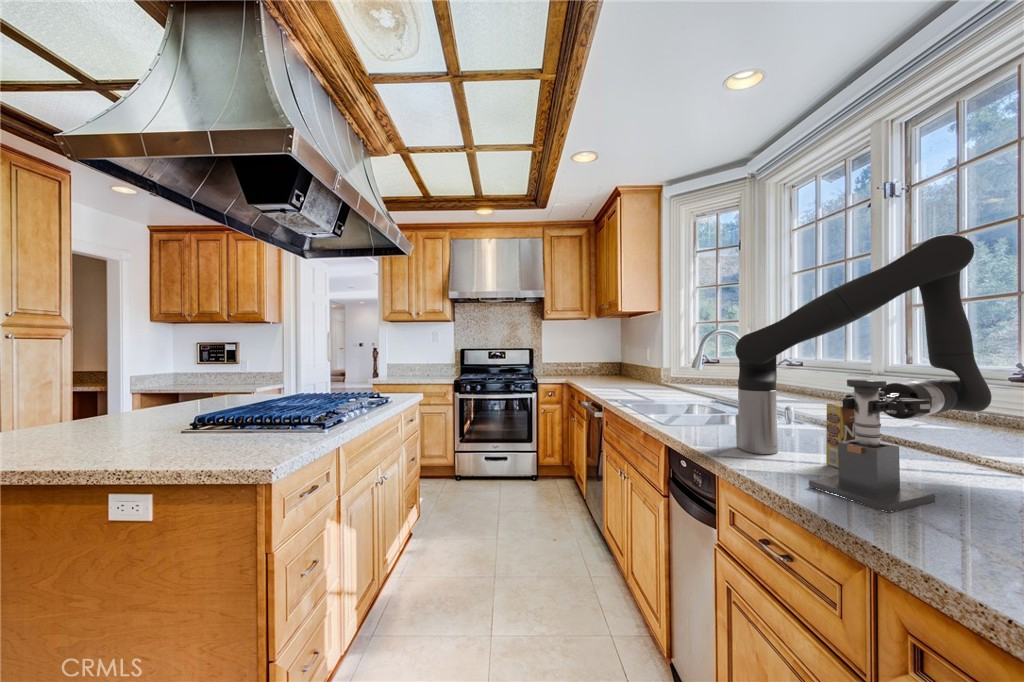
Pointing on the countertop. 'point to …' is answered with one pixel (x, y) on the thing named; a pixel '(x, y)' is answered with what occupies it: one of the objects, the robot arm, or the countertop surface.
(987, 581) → the countertop surface
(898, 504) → the stand base
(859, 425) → the steel column
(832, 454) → the candy box
